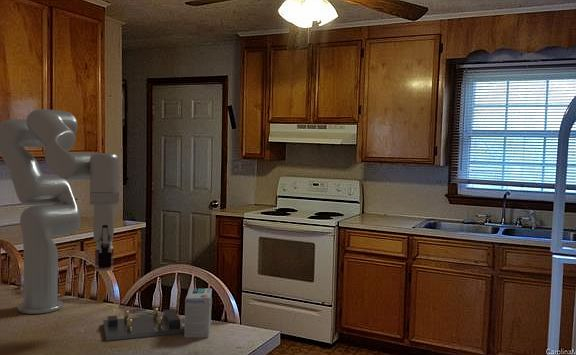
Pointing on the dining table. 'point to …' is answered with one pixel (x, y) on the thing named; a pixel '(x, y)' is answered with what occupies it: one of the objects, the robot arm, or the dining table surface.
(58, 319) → the dining table surface
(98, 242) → the pill bottle
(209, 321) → the light bulb box
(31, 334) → the dining table surface
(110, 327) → the chassis
